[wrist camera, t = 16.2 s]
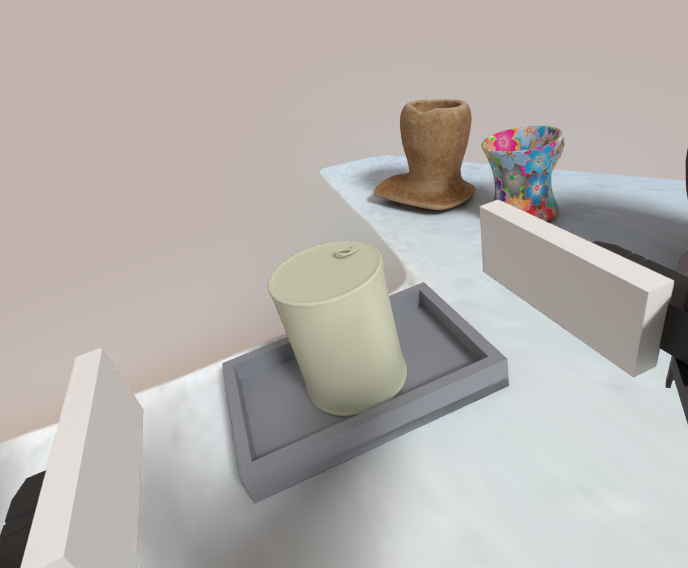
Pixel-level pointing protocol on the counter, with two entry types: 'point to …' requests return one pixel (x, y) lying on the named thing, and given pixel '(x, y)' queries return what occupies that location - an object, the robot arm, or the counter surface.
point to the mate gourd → (687, 261)
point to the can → (340, 326)
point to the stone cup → (432, 156)
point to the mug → (525, 167)
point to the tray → (370, 426)
